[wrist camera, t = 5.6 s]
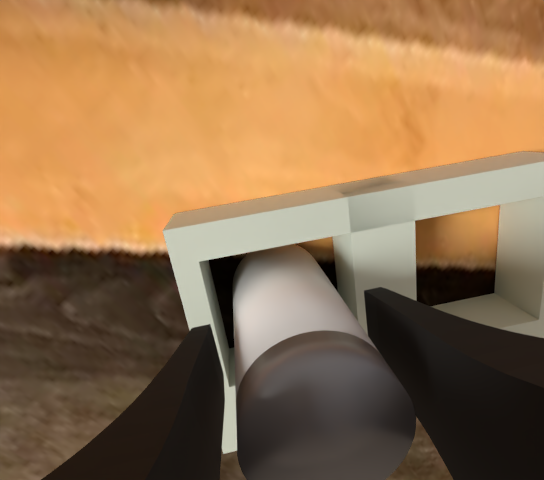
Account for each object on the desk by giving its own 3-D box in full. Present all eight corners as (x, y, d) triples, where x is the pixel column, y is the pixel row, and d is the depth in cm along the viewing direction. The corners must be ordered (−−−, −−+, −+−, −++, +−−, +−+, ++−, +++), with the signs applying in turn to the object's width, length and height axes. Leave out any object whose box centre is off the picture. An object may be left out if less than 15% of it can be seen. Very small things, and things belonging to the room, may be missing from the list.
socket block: (523, 151, 14) (586, 155, 12) (506, 345, 18) (554, 381, 15) (174, 213, 13) (161, 232, 11) (224, 408, 16) (223, 458, 14)
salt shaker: (314, 232, 14) (411, 343, 7) (326, 312, 16) (419, 481, 8) (223, 253, 14) (217, 391, 7) (243, 332, 15) (257, 525, 8)
